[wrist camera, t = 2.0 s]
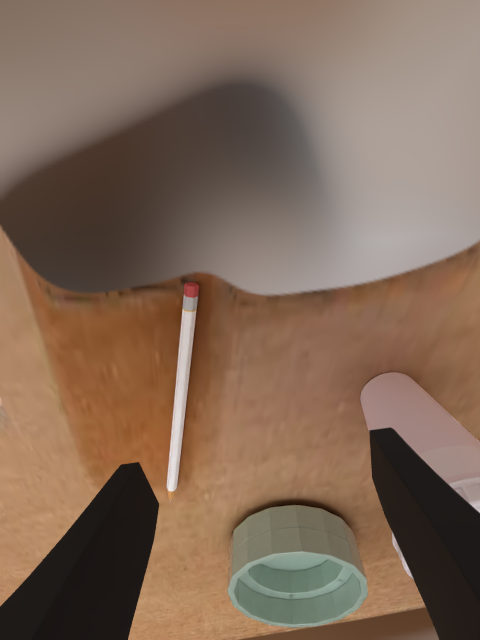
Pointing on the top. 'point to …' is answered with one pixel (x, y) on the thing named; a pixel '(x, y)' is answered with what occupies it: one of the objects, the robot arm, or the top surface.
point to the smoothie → (424, 433)
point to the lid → (295, 567)
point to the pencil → (182, 382)
